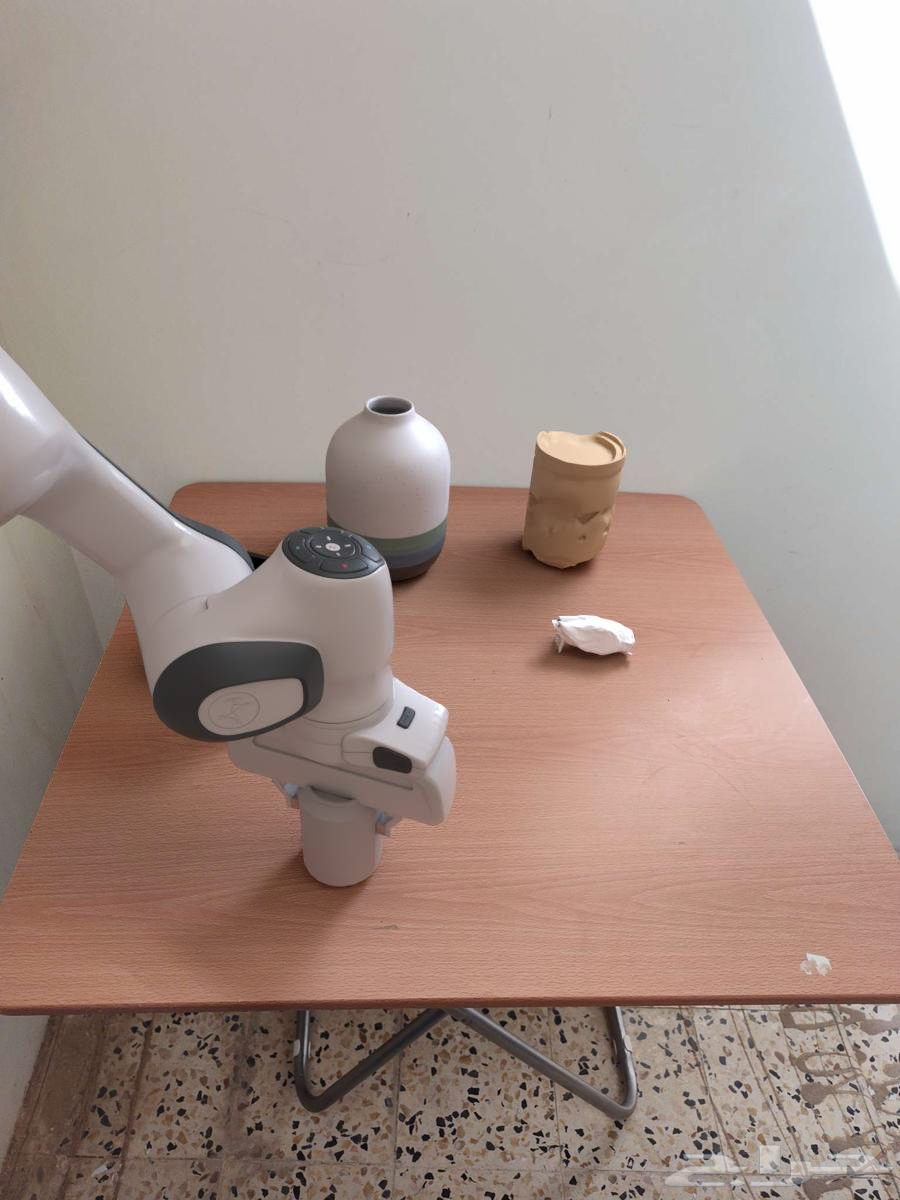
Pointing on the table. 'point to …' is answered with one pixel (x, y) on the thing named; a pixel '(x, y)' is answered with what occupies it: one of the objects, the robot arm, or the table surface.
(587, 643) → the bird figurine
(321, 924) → the table surface
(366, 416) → the vase
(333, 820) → the can
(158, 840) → the table surface
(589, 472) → the container
